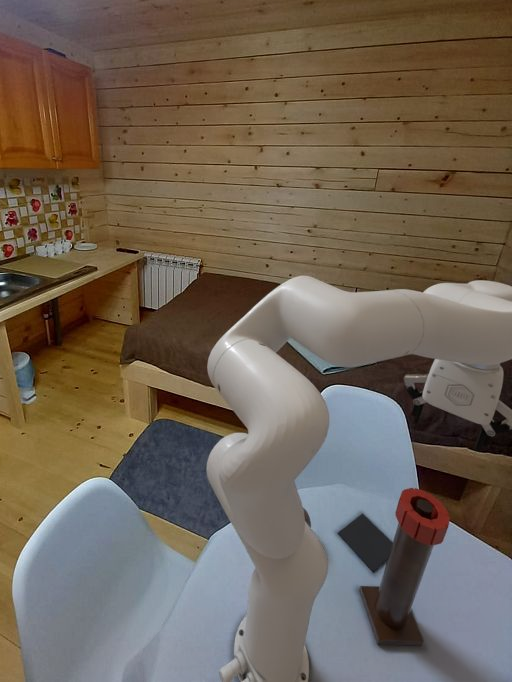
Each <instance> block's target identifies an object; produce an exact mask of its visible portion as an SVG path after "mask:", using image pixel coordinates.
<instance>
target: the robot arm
mask: <svg viewBox="0 0 512 682" xmlns="http://www.w3.org/2000/svg"><path fill="white" fill-rule="evenodd" d="M290 339H292V340H294V342H296V343H297V344H299V345H301V346H302V347H303V348H304V349H306V350H308V351H309V352H311V353H312V354H313V355H315V356H317V358H319V359H321V360H323V361H324V362H326V363H329V364H330V365H333V366H337V367H340V368H355V367H362V366H366V365H369V364H374V363H378V362H383V361H388V360H391V359H397V358H400V357H405V356H410V355H415V356H419V357H423V358H428V359H434V360H433V362H432V364H431V367H430V369H429V372H428V373H415V374H414V373H408V374H405V375H404V377H403V382H404V384H405V387H406V392H407V394H408V395H409V396H410V398H411V399H412V402H413V407H412V411H411V416H412V417H414V420H413V424H414V425H418V424H419V422H420V419H421V417H422V415H423V410H424V406H425V404H426V403H427V404H429V405H431V406H433V407H434V408H437V409H440V410H443V411H445V412H447V413H450V414H452V415H455V416H456V417H459V418H461V419H464V420H467V421H469V422H472V423H475V424H478V425H481V427H480V430H479V433H478V435H477V438H476V441H475V446H474V450H475V452H477V453H481V451H482V448H485V449H488V446H489V445H490V441H491V438H492V437H494V436H496V435H499V434H502V433H503V434H504V433H508V432H510V431H511V430H512V409H511V408H510V407H509V406H507V404H505V403H504V402H503V401H501V400H500V396H501V392H502V389H503V384H504V368H503V367H502V366H501V363H505V362H508V361H510V360H511V361H512V286H511V285H509V284H505V283H503V282H498V281H492V280H483V279H481V280H480V279H478V280H472V281H469V282H468V283H458V282H441V283H440V282H439V283H436V284H434V285H431V286H429V287H428V288H426V289H425V290H423V292H422V291H418V290H414V289H407V288H399V289H397V288H396V289H385V290H374V291H373V290H371V291H358V292H357V291H356V292H353V291H347V290H344V289H340V288H338V287H336V286H333V285H331V284H329V283H327V282H325V281H322V280H320V279H317V278H315V277H312V276H310V275H298V276H295V277H292V278H289V279H288V280H286V281H284V282H283V283H281V284H280V285H278V286H277V287H275V288H274V289H272V290H271V291H270V292H269V293H267V294H266V295H265V296H264V297H262V299H261V300H260V301H259V302H257V303H256V304H255V305H254V306H253V307H252V308H251V309H250V310H248V312H247V313H246V314H245V315H244V316H243V317H241V318H240V319H239V320H238V321H237V322H236V323H234V325H233V326H232V327H230V328H229V329H228V330H227V331H226V332H225V333H224V334H223V335H222V336H221V337H220V338H219V340H218V341H217V342H216V343H215V344H214V346H213V347H212V349H211V350H210V353H209V356H208V359H207V366H206V367H207V375H208V378H209V380H210V383H211V385H212V387H214V388H215V390H216V392H217V393H218V394H219V395H220V396H221V398H222V399H223V400H224V401H225V402H226V403H227V405H228V407H230V408H231V410H232V411H233V412H234V414H235V415H236V416H237V417H238V419H239V420H240V421H241V422H242V424H243V425H244V426H245V428H246V429H247V433H246V432H234V433H230V434H228V435H226V436H224V437H223V438H220V440H218V441H217V443H215V445H214V446H213V448H212V449H211V451H210V453H209V455H208V457H207V462H206V468H205V469H206V477H207V480H208V482H209V485H210V486H211V489H212V491H213V492H214V494H215V497H216V498H217V500H218V502H219V504H220V506H221V507H222V509H223V511H224V512H225V514H226V517H227V518H228V520H229V522H230V523H231V524H230V525H232V527H233V529H234V531H235V533H236V534H237V536H238V538H239V540H240V541H241V543H242V545H243V547H244V548H245V551H246V553H247V555H248V557H249V559H250V560H251V562H252V564H253V566H254V570H253V571H252V573H251V576H250V579H249V583H248V584H249V585H248V596H247V606H246V615H245V616H244V618H243V619H242V620H241V622H240V624H239V626H238V627H237V630H236V632H235V633H236V634H235V638H234V643H233V659H232V660H231V661H230V662H227V663H226V664H225V665H224V666H223V667H221V668H220V669H219V670H218V674H219V675H218V676H219V678H220V680H221V682H232V681H234V680H235V678H236V677H237V678H238V681H239V682H309V679H310V677H309V675H310V661H309V660H310V659H309V653H308V650H307V646H306V639H307V635H308V630H309V625H310V619H311V614H312V610H313V606H314V603H315V600H316V599H317V597H318V595H319V593H320V591H321V590H322V588H323V586H324V584H325V581H326V579H327V577H328V574H329V560H328V557H327V553H326V551H325V549H324V547H323V545H322V543H321V541H320V540H319V538H318V536H317V535H316V533H315V532H314V531H313V529H312V527H311V528H310V527H309V525H308V524H307V523H306V521H305V516H304V509H305V508H304V506H303V503H302V499H301V495H300V494H299V490H298V488H297V485H296V482H295V480H297V478H298V477H299V476H300V475H301V473H303V471H304V470H305V469H306V468H307V467H308V465H309V464H310V463H311V462H312V460H313V459H314V458H315V456H316V455H317V453H319V451H320V450H321V449H322V446H323V445H324V443H325V442H326V439H327V437H328V434H329V433H328V432H329V428H330V412H329V408H328V405H327V402H326V400H325V398H324V397H323V395H322V393H321V392H320V391H319V390H318V388H317V387H316V386H315V384H313V383H312V382H311V381H310V379H309V378H307V377H306V376H305V375H304V374H303V373H301V371H299V370H298V369H296V368H295V367H294V366H293V365H292V364H291V363H289V362H287V360H286V359H284V358H283V357H282V356H280V355H279V354H278V353H277V352H279V350H280V349H281V348H283V346H284V345H285V344H287V342H288V341H289V340H290ZM415 384H424V387H423V390H422V391H421V390H419V389H418V388H417V387H416V386H415ZM496 412H498V413H500V414H501V415H502V416H503V417H504V418H505V419H502V420H501V419H500V420H496V421H494V419H493V418H494V415H495V413H496ZM303 508H304V509H303Z"/></svg>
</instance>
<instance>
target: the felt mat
mask: <svg viewBox="0 0 512 682" xmlns="http://www.w3.org/2000/svg"><path fill="white" fill-rule="evenodd" d="M337 536H339V537H340V539H342V540H343V541H344V542H345V544H346V545H347V546H348V547H349V548H350V549H351V550H352V551H353V553H355V555H356V556H357V557H358V558H359V559H360V560H361V561H362V562H363V564H365V566H366V567H367V568H368V569H369V571H371V572H372V573H374V572H375V571H376V570H378V569H379V568H380V567H381V566H382V565H383V564H384V563H385V562H387V560H388V557H389V554H390V550H391V547H392V544H393V540H391V539H390V538H389V537H388V536H386V534H385V533H384V532H383V531H382V530H381V529H380V528H378V527H377V525H376V524H375V523H374V522H372V521H371V520H370V519H369V518H368V517H367V516H366V515H365V514H364V513H361V514H360V515H358V516H357V517H355V518H354V519H353V520H351V521H350V523H348V524H347V525H346V526H344V527H343V528H341V529H340V530H339V531H338V532H337Z"/></svg>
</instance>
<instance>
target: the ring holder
mask: <svg viewBox="0 0 512 682" xmlns="http://www.w3.org/2000/svg"><path fill="white" fill-rule="evenodd" d="M414 511H415V512H417V513H418V514H419V515H420V516H421V517H424V518H427V519H429V520H430V517H431V514H432V511H433V508H432V506H431V504H430V503H429V502H427V501H425V500H423V499H419V500H418V501H417V503H416V506H415V510H414ZM397 523H398V524H397V526H396V531H395V534H394V538H393V540H392V542H393V544H392V547H391V550H390V554H389V557H388V559H387V560H386V564H385V566H384V570H383V574H382V577H381V581H380V584H379V586H378V585H377V586H376V585H375V586H374V585H370V586H369V585H359V589H358V592H359V595H360V598H361V601H362V604H363V607H364V609H365V613H366V616H367V619H368V622H369V624H370V627H371V630H372V633H373V636H374V639H375V642H376V645H385V646H386V645H387V646H391V645H392V646H423V645H424V641H425V640H424V637H423V636H422V633H421V631H420V629H419V627H418V624H417V621H416V619H415V617H414V615H413V613H412V607H413V604H414V602H415V600H416V597H417V593H418V590H419V588H420V585H421V582H422V579H423V576H424V575H425V571H426V568H427V565H428V562H429V560H430V557H431V554H432V551H433V549H434V546H431V545H426V544H423V543H421V542H418V541H416V540H415V538H414V539H413V538H412V537H410V536H409V535H408V534H407V533H406V532H405V531H404V530H403V529H402V527H400V525H399V522H397Z"/></svg>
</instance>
